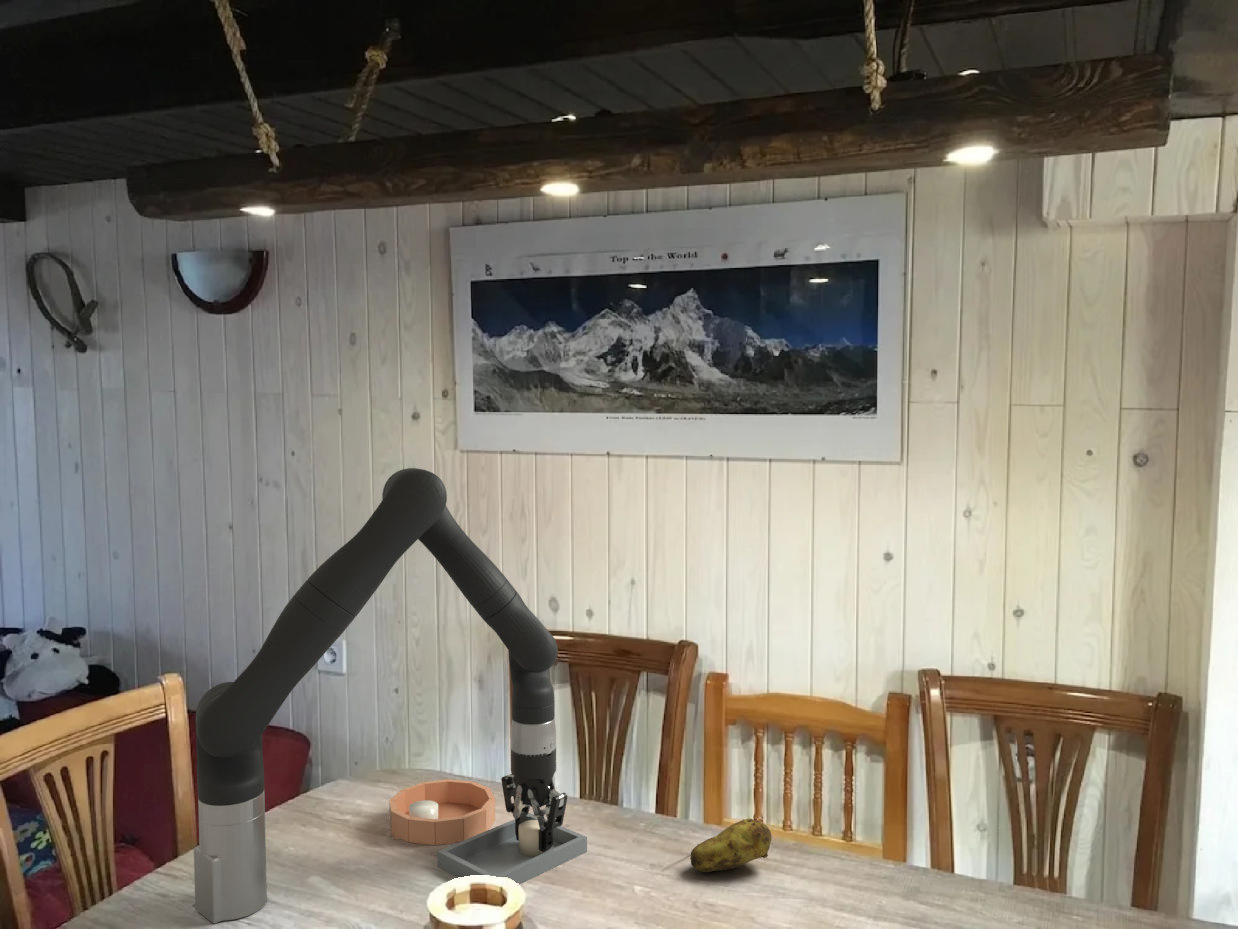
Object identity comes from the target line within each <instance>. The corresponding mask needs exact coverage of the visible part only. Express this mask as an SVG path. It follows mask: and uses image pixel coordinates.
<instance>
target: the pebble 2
mask: <svg viewBox="0 0 1238 929" xmlns="http://www.w3.org/2000/svg"><path fill="white" fill-rule="evenodd" d="M539 829H540V827H539V823H538V820H528V821H525V822H523V823H521V824H520V825H519V852H520V853H521V854H522V855H525V856H531V857H534V856H539V855H541V854H543V853H545V852H547V851H549V850H547V851H545V852H542V851H540V850H539Z"/></svg>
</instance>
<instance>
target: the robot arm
mask: <svg viewBox="0 0 1238 929" xmlns="http://www.w3.org/2000/svg"><path fill="white" fill-rule="evenodd" d="M381 495H382V500H381V501H380V503H379V505H377V508H376V509H375V510H374V511H373V512H372V514H371V515H370V517H369V518H368V520H367V521H366V522H365V523H364V525H363V526H362V527H361V529H360V530H359V531H358V532H357V533H356V534H355V535H354V536H353V537H352V538H351V539H350V540H348V541H347V542H346V543H345V544H344V545H342V546H341V547H340V548H338V549H337V550H336V551H335V552H334V553H333V554H331V556H329V557H328V558H327V559H326V560H325V561H324V562H323V563H322V564H321V565H319V567H317V569H316V570H315V571H314V572H312V574H311V575H310V576H308V578H307V580H305V582H304V583H303V584H302V585H301V586H300V587H299V589H298V590H297V591H296V592H295V594H294V595H293V596H292V598H290V599H289V601H288V602H287V604H286V605H285V607H284V608H283V609H282V611H281V613H280V614H279V616H278V618H277V619H276V621H275V623H273V626H272V628H271V630H270V632H269V633H268V635H267V637H266V638H265V640H264V642H263V644H262V645H261V648H260V649H259V651H258V653H257V654H256V656H254V658H253V660H252V661H251V662H250V663H249V664H248V666H247V667H245V669H244V670H243V671H242V672H241V674H239V675H238V676H237V678H236V679H234V681H227V682H225V681H224V682H221V683H219V684H216V685H214V686H212V687H210V688H209V689H208V690H207V691H206V692H205V693H204V695H202V696H201V698H200V700H199V702H198V704H197V707H196V710H195V737H196V739H195V742H196V745H195V746H196V780H197V781H196V782H197V784H196V785H197V800H198V801H197V802H198V803H197V805H198V836H199V838H198V842H199V845H197V846H195V847H194V848H193V868H194V869H193V870H194V872H193V873H194V900H195V902H194V903H195V911H197V912H199V914H201V915H202V916H203V917H205V918H206V919H207V920H209V921H210V922H211V923H212V924H217V923H220V922H222V921H232V920H238V919H243V918H245V917H248V916H251V915H253V914H255V913H257V912H258V911H259V910H261V909H263V907H264V906H266V903H267V901H268V890H267V889H268V884H267V848H266V846H267V844H266V839H267V838H266V807H265V806H266V804H265V803H266V802H265V800H266V799H265V796H266V795H265V769H264V755H263V733H264V732H265V730H266V729H267V728H268V726H269V725H270V723H271V722H272V721H273V718H274V717H275V716H276V714H277V713H278V711H279V710H280V708H281V707H282V705H283V704H284V702H285V701H286V699H287V698H288V697H289V695H290V694H291V693H292V691H293V689H295V687H296V686H297V685H298V684H299V682H300V681H301V680H302V679H303V678H304V677H305V676H306V675H307V674H308V673H309V672H310V671H311V670H312V669H313V667H315V665H316V664H317V663H319V661H320V659H322V657H323V656H324V655H325V654H326V653H327V651H328V650H329V649H330V648H331V647H332V645H334V643H335V642H336V641H337V640H338V639H339V638H340V636H342V634H343V633H344V632H345V631H346V629H347V628H348V627H349V626H350V624H351V623H352V622H353V621H354V620H355V619H356V617H357V616H358V615H359V614H360V612H361V611H362V610H363V608H364V607H365V605H366V604H367V603H368V601H370V598H372V597H373V595H374V594H375V592H376V591H377V590H378V589H379V587H380V585H381V584H382V583H383V582H384V580H385V578H386V576H387V575H388V574H389V573H390V571H391V570H392V569H393V567H394V566H395V564H396V563H397V562H398V560H399V559H401V557H402V556H403V555H404V554H405V553H406V552H407V551H408V550H409V549H411V547H412V546H413V545H414V544H415V542H417V541H420V543H421V544H422V545H423V546H424V547H425V548H426V549H427V550H428V552H429V553H430V554H432V555H433V557H434V558H435V559H436V561H437V562H438V563H439V564H440V566H441V567H442V568H443V569H444V570H445V572H446V573H447V575H448V576H449V577H450V579H451V580H452V581H453V583H454V584H455V585H456V587H457V589H459V591H460V592H461V593H462V595H463V596H464V598H466V600H467V601H468V603H469V604H470V605H471V606H472V608H473V609H474V610H475V611H476V613H477V614H478V615H479V617H480V618H481V619H482V620H483V622H485V624H486V625H488V627H489V628H491V629H492V630H493V631H494V632H495V633H496V635H497V636H498V638H499V640H501V642H502V643H503V645H504V646H505V648H506V649H507V650H508V662H509V671H510V679H511V685H512V686H511V687H512V693H511V725H510V773H509V774H507V775H504V776H502V777H501V779H500V780H501V788H502V792H503V799H504V806H505V809H506V812H507V813H511V814H512V817H513V820H514V819H515V834H516V839H517V840H518V841H519V825H520V824H521V823H523V822H525V821H528V820H529V817H528V816H526V815H528V813H530V812H529V811H530V809H531V808H532V813H533V815H534V816H536V817H537V819H538V823H539V827H540V829H539V850H540V851H542V852H545V851H547V850H549V849H550V848H551V847H552V845H553V829H554V828H556V827H559V826H563V823H564V820H565V819H564V818H565V812H566V808H567V802H568V794H567V793H566V792H561V793H560V792H559V791H557V790H556V788H555V784H554V780H553V778H554V775H555V774H556V772H557V728H556V727H557V726H556V718H555V714H556V713H555V708H556V707H555V690H554V687H553V684H552V682H551V675H550V673H551V672H550V669H551V668H552V667H553V666H554V664H555V663H556V661H557V658H558V654H559V647H558V643H557V641H556V639H555V637H554V635H553V634H552V633H551V632H550V631H549V630H548V629H547V628H546V626H545V625H544V624H543V623H542V622H541V621H540V619H539V618H538V617H537V616H536V615H535V614H534V613H533V611H531V610H530V609H529V607H528V606H527V604H526V603H525V601H524V600H523V599H522V597H521V595H520V594H519V592H518V591H517V590H516V589H515V587H514V586H513V584H512V583H511V582H510V581H509V580H508V578H507V576H505V575H504V574H503V572H502V570H500V569H499V568H498V566H497V565H496V564H495V563H494V562H493V561H492V560H491V559H490V558H489V556H487V555H486V553H484V552H483V550H481V549H480V548H479V547H478V545H476V543H475V542H474V541H473V540H472V539H471V538H470V537H469V536H468V535H467V534H466V532H465V531H464V529H462V528H461V526H460V525H459V524H458V522H457V521H456V520H455V518H454V517H453V515H452V513H451V512H450V510H449V508H448V506H447V502H448V501H447V500H448V494H447V489H446V486H445V484H444V482H443V480H442V479H441V478H440V476H438V475H437V474H435V473H433V472H432V471H429V470H426V469H423V468H416V467H413V468H412V467H408V468H403V469H400V470H397V471H396V472H395V473H392V475H390V476H389V477H388V478H387V481H386V482H385V484H384V486H383V490H382V494H381ZM512 798H513V802H512ZM544 806H545V807H544ZM542 807H544V808H542ZM541 808H542V809H541ZM545 816H546V819H545ZM545 820H547V821H545Z"/></svg>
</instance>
